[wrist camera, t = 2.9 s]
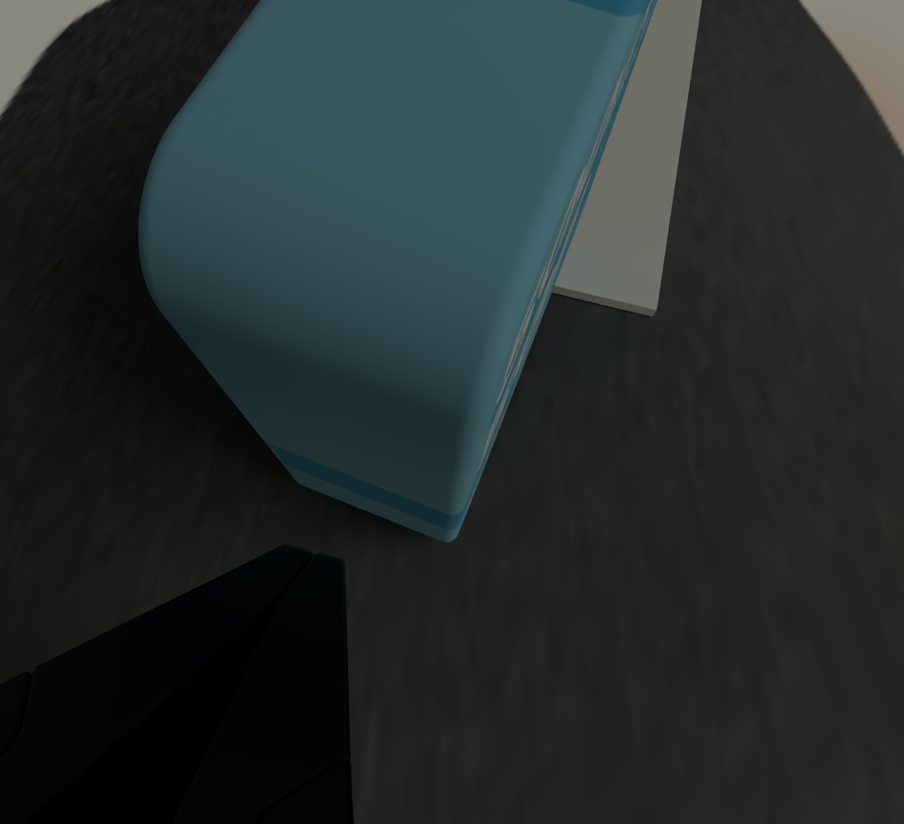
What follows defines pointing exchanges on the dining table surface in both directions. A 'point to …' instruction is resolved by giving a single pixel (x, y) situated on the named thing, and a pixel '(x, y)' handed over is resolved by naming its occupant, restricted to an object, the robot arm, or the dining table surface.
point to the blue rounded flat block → (383, 226)
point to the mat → (636, 174)
